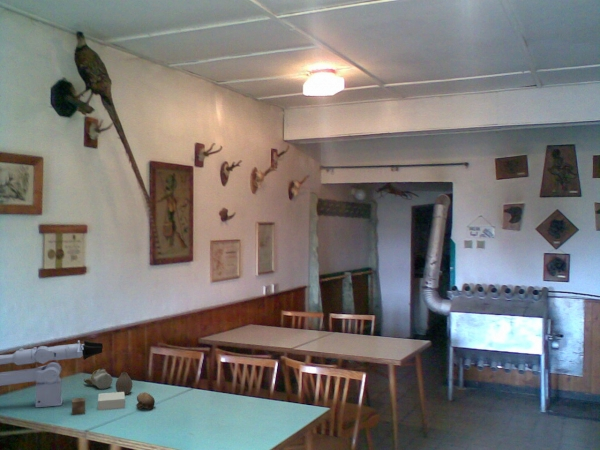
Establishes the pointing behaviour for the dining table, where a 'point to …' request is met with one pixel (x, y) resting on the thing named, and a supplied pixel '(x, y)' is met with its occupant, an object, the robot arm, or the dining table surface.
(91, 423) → the dining table surface
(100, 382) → the ceramic sculpture
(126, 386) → the vase
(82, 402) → the walnut block
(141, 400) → the mushroom
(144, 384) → the dining table surface
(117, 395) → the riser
